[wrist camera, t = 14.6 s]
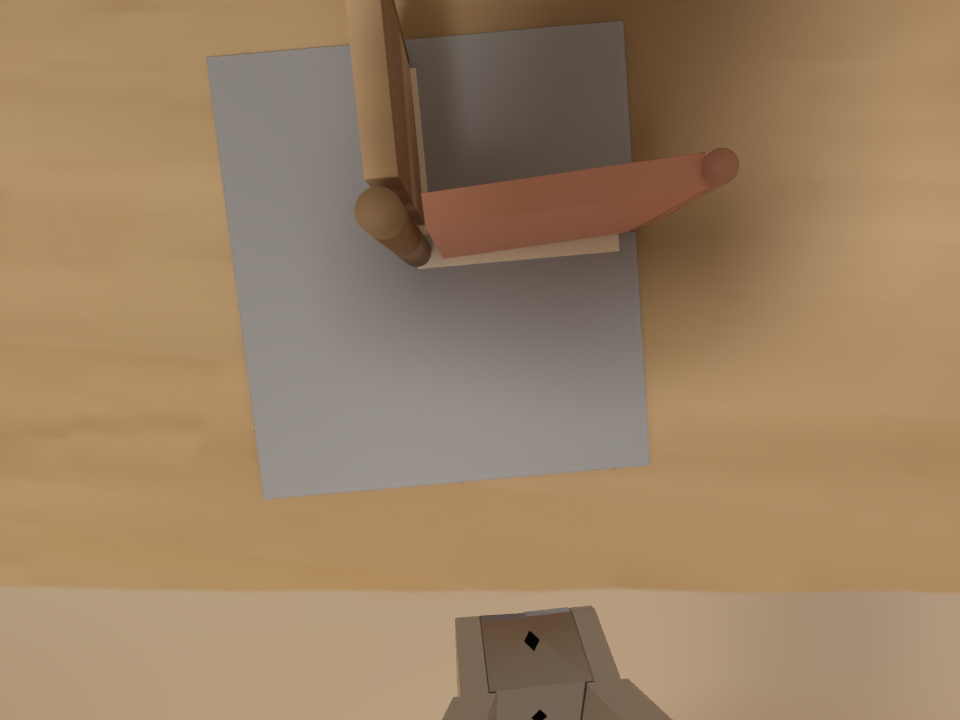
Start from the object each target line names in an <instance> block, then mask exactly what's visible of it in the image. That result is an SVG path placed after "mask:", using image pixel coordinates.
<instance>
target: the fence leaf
mask: <svg viewBox="0 0 960 720" xmlns="http://www.w3.org/2000/svg"><path fill="white" fill-rule="evenodd" d="M738 169H739V161H738V158H737V156H736V154H735V153H734V152H733V151H731V150H729V149H727V148H718V149H715V150H713V151H712V152H710V153H709V154H707V155H706V156H705V152H703V153H696V154H689V155H682V156H675V157H668V158H661V159H655V160H648V161H641V162H634V163H627V164H620V165H613V166H607V167H600V168H593V169H586V170H579V171H572V172H565V173H559V174H552V175H545V176H538V177H531V178H524V179H517V180H511V181H504V182H497V183H490V184H483V185H476V186H469V187H463V188H456V189H449V190H442V191H435V192H428V193H422V194H421V198H422V204H423V211H424V218H425V224H426V229H427V231H428V233H429V234H430V236H431V238H432V240H433V241H434V243H435V245H436V247H437V248H438V250H439V252H440V254H441V256H442V257H443V259H448V258H455V257H462V256H469V255H476V254H482V253H489V252H496V251H503V250H510V249H517V248H524V247H531V246H538V245H544V244H551V243H558V242H565V241H572V240H579V239H586V238H593V237H599V236H606V235H613V234H620V233H627V232H635V231H637V230H639V229H641V228H643V227H645V226H647V225H649V224H650V223H652V222H654V221H656V220H658V219H660V218H662V217H664V216H666V215H667V214H669V213H671V212H673V211H675V210H677V209H679V208H681V207H682V206H684V205H686V204H688V203H690V202H692V201H694V200H696V199H698V198H699V197H701V196H703V195H705V194H707V193H709V192H711V191H713V190H714V189H716V188H718V187H720V186H722V185H724V184H726V183H728V182H730V181H731V180H732V179H733V178H734V177H735V176H736V175H737V173H738Z"/></svg>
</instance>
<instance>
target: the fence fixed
mask: <svg viewBox="0 0 960 720" xmlns="http://www.w3.org/2000/svg"><path fill="white" fill-rule="evenodd" d="M345 4H346V13H347V22H348V32H349V41H350V51H351V60H352V70H353V79H354V88H355V98H356V107H357V117H358V126H359V136H360V145H361V155H362V164H363V173H364V180H365V181H366V182H367V183H368V185H369V186H370V187H371V188H368V189H366V190H365V191H363V192H362V193H361V194H360V196H359V197H358V199H357V201H356V203H355V210H354V211H355V217H356V220H357V223H358V224H359V226H360V227H361V228H362V229H363V230H364V231H366V232H367V233H368V234H369V235H371V236H372V237H373V238H375V239H376V240H377V241H379V242H380V243H381V244H382V245H384V246H385V247H386V248H388V249H389V250H390V251H392V252H393V253H394V254H395V255H397V256H398V257H399V258H401V259H402V260H403V261H405V262H406V263H407V264H409V265H410V266H413V267H420V266H423V265H425V264H426V263H427V262H428V261H429V259H430V257H431V247H430V245H429V243H428V242H427V240H426V239H425V237H424V236H423V234H422V233H421V231H420V230H419V228H418V225H425V219H424V211H423V204H422V198H421V194H422V188H421V178H420V167H419V157H418V147H417V136H416V126H415V115H414V105H413V95H412V84H411V74H410V68H409V56H408V52H407V48H406V44H405V40H404V37H403V33H402V29H401V25H400V21H399V17H398V13H397V10H396V6H395V2H394V0H345Z"/></svg>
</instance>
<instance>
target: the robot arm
mask: <svg viewBox="0 0 960 720" xmlns="http://www.w3.org/2000/svg"><path fill="white" fill-rule="evenodd" d="M455 627H456V663H457V687H458V697H453V699H452V701H451V703H450V705H449V707H448V709H447V711H446V713H445V715H444V717H443V719H442V720H672V719H671V718H670V717H669V716H668V715H666V713H664V712H663V711H662V710H661V709H660V708H659V707H658V706H657V705H656V704H655V703H654V702H653V701H651V700H650V699H649V698H648V697H647V696H646V695H645V694H644V693H643V692H642V691H641V690H640V689H639V688H638V687H636V686H635V685H634V684H633V683H632V682H631V681H630V680H629V679H621V678H620V675H619V673H618V670H617V667H616V664H615V662H614V659H613V656H612V654H611V651H610V648H609V646H608V643H607V641H606V638H605V635H604V632H603V630H602V627H601V624H600V621H599V619H598V616H597V613H596V611H595V609H594V608H593V607H592V606H583V607H573V608H557V609H548V610H538V611H529V612H524V613H518V614H504V615H503V614H502V615H486V616H472V617H462V618H456V620H455Z"/></svg>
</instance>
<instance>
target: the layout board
mask: <svg viewBox="0 0 960 720" xmlns="http://www.w3.org/2000/svg"><path fill="white" fill-rule="evenodd" d="M405 44H406V48H407V52H408V56H409V68H410V74H411V84H412V95H413V105H414V115H415V126H416V136H417V147H418V157H419V167H420V178H421V188H422V193H428V192H435V191H442V190H449V189H456V188H463V187H469V186H476V185H483V184H490V183H497V182H504V181H511V180H517V179H524V178H531V177H538V176H545V175H552V174H559V173H565V172H572V171H579V170H586V169H593V168H600V167H607V166H613V165H620V164H627V163H632V156H631V139H630V122H629V106H628V89H627V72H626V55H625V39H624V22H623V21H613V22H601V23H590V24H579V25H567V26H556V27H545V28H533V29H522V30H511V31H499V32H488V33H477V34H466V35H454V36H443V37H432V38H420V39H409V40H405ZM206 58H207V66H208V74H209V81H210V89H211V97H212V104H213V112H214V120H215V128H216V135H217V143H218V151H219V158H220V166H221V174H222V181H223V189H224V197H225V204H226V212H227V220H228V227H229V235H230V243H231V250H232V258H233V266H234V273H235V281H236V289H237V296H238V304H239V312H240V319H241V327H242V335H243V342H244V350H245V358H246V365H247V373H248V381H249V389H250V396H251V404H252V412H253V419H254V427H255V435H256V442H257V450H258V458H259V465H260V473H261V481H262V488H263V496H264V499H275V498H287V497H298V496H309V495H320V494H332V493H343V492H354V491H365V490H377V489H388V488H399V487H410V486H421V485H433V484H444V483H455V482H466V481H478V480H489V479H500V478H511V477H523V476H534V475H545V474H556V473H568V472H579V471H590V470H601V469H612V468H624V467H635V466H646V465H650V457H649V440H648V423H647V406H646V390H645V373H644V356H643V340H642V323H641V306H640V289H639V273H638V256H637V239H636V231H635V232H627V233H620V234H613V235H606V236H599V237H593V238H586V239H579V240H572V241H565V242H558V243H551V244H544V245H538V246H531V247H524V248H517V249H510V250H503V251H496V252H489V253H482V254H476V255H469V256H462V257H455V258H448V259H443V257H442V256H441V254H440V252H439V250H438V248H437V247H436V245H435V243H434V241H433V240H432V238H431V236H430V234H429V233H428V231H427V229H426V224H425V225H418V228H419V230H420V231H421V233H422V234H423V236H424V237H425V239H426V240H427V242H428V243H429V245H430V247H431V257H430V259H429V261H428V262H427V263H426V264H425V265H423V266H420V267H413V266H410V265H409V264H407V263H406V262H405V261H403V260H402V259H401V258H399V257H398V256H397V255H395V254H394V253H393V252H392V251H390V250H389V249H388V248H386V247H385V246H384V245H382V244H381V243H380V242H379V241H377V240H376V239H375V238H373V237H372V236H371V235H369V234H368V233H367V232H366V231H364V230H363V229H362V228H361V227H360V226H359V224H358V223H357V220H356V217H355V211H354V210H355V203H356V201H357V199H358V197H359V196H360V194H361V193H362V192H363V191H365V190H366V189H368V188H371V187H370V186H369V185H368V183H367V182H366V181H365V180H364V173H363V164H362V155H361V145H360V136H359V126H358V117H357V107H356V98H355V88H354V79H353V70H352V60H351V51H350V45H341V46H330V47H319V48H307V49H296V50H285V51H273V52H262V53H251V54H239V55H228V56H217V57H206ZM424 219H425V218H424Z"/></svg>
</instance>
